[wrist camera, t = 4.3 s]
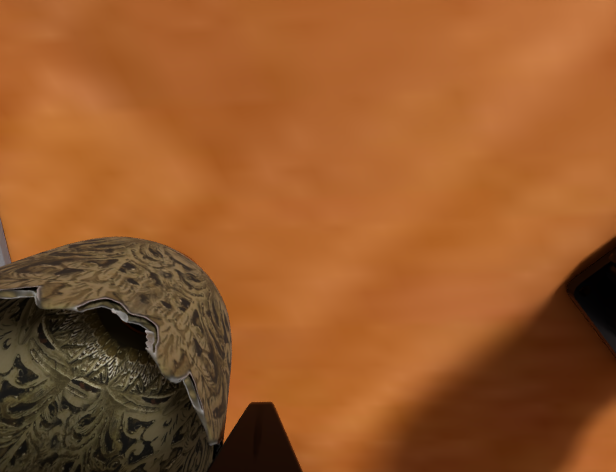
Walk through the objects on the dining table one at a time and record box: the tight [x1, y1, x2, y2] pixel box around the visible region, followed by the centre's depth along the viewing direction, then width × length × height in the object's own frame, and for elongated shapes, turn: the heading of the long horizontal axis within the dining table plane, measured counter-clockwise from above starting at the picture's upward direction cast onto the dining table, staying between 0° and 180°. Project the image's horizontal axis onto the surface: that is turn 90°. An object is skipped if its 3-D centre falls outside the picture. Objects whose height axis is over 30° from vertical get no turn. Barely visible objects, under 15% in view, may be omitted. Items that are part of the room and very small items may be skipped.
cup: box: [0, 237, 232, 472], centre depth 11 cm, size 8×7×8 cm
